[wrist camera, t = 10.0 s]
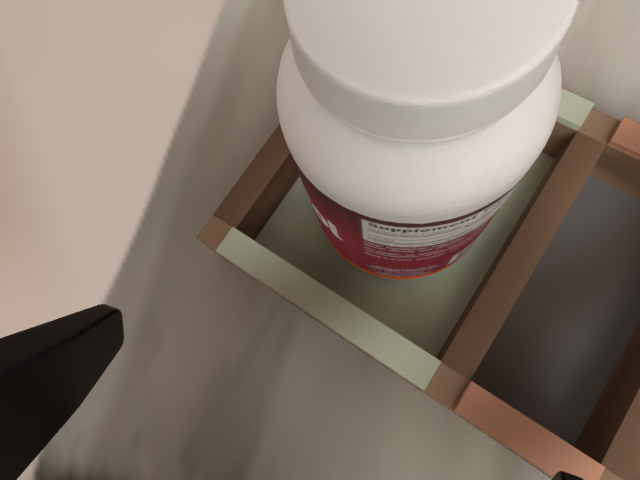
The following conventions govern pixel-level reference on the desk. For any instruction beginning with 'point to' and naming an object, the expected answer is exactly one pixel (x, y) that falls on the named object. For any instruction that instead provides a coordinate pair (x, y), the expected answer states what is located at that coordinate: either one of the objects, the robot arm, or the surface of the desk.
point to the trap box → (488, 296)
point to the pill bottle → (417, 119)
